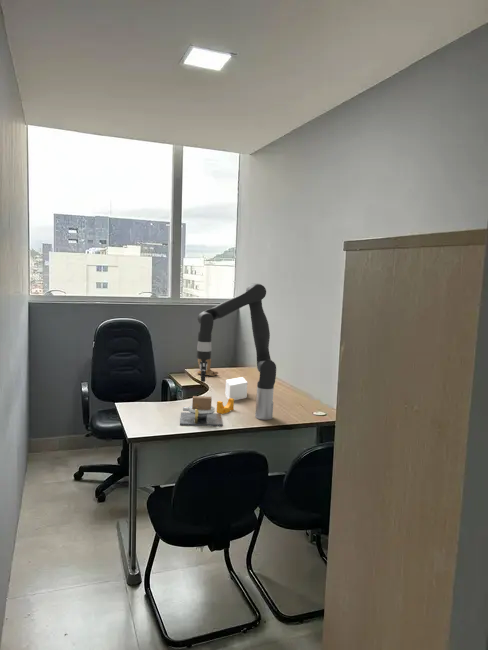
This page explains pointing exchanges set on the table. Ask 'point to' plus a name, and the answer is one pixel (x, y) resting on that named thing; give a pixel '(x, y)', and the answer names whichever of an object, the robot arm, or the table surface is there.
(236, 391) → the white block
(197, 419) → the dowel pin
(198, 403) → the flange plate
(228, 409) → the pipe clamp
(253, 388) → the table surface
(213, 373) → the tan irregular piece
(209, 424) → the post base
